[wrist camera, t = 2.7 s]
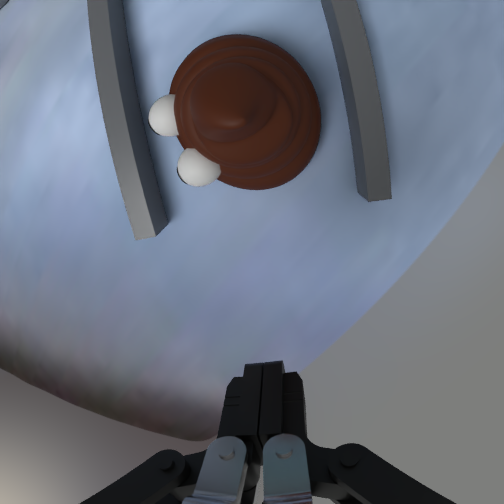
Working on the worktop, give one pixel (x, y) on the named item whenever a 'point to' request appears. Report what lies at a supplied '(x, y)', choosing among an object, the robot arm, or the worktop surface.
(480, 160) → the worktop surface
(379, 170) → the channel
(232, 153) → the poop emoji
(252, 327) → the worktop surface
